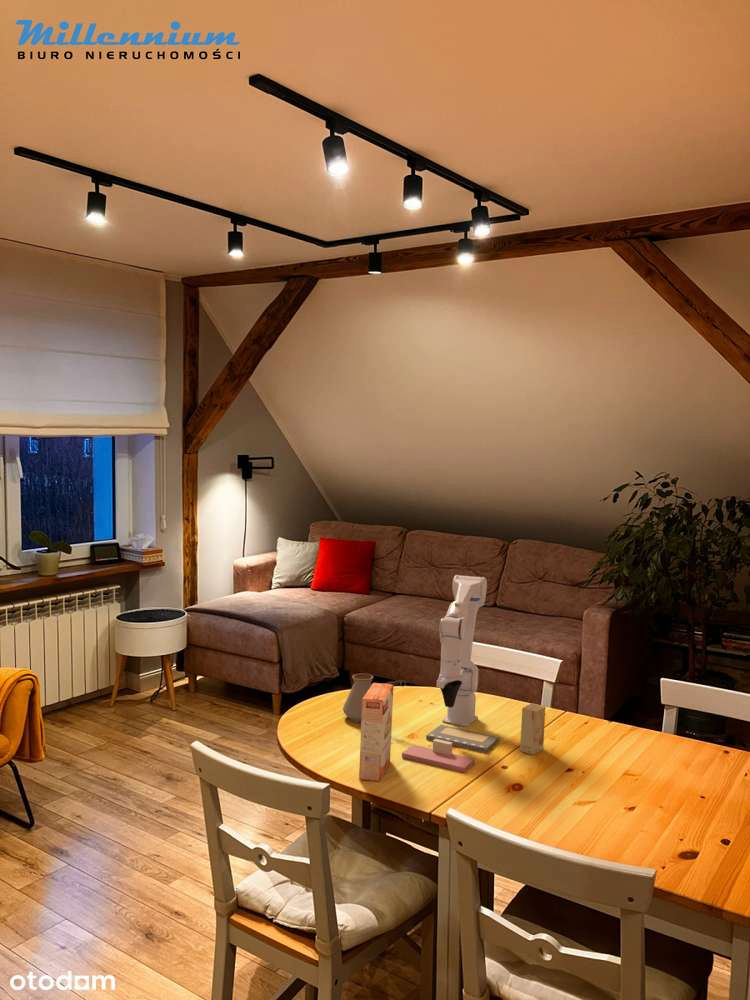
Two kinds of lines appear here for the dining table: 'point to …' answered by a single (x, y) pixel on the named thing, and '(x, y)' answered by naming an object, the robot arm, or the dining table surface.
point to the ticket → (464, 738)
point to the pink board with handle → (439, 756)
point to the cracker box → (376, 731)
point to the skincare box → (532, 728)
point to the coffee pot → (359, 695)
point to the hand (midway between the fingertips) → (449, 706)
